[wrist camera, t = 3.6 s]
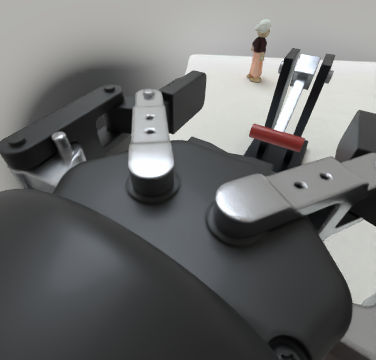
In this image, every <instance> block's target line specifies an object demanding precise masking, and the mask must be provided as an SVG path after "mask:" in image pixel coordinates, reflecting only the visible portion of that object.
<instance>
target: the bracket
mask: <svg viewBox="0 0 376 360" xmlns="http://www.w3.org/2000/svg"><path fill="white" fill-rule="evenodd" d="M299 53H300V49H295V48H293V49H292V50H291V51H290V52H289V53H288V55H287V56H286V57H285V58H284V61H282V62H281V64H280V67H279V70H278V73H279V74H280V75H279V79H278V82H277V86H276V89H275V93H274V96H273V99H272V103H271V106H270V110H269V113H268V117H267V120H266V123H265V127H268V128H271V129H274V128H275V125H276V123H277V120H278V117H279V114H280V111H281V108H282V105H283V101H284V98H285V95H286V92H287V89H288V86H289V83H290V80H291V77H292V74H293V71H294V68H295V65H296V62H297V59H298V56H299ZM334 57H335V55H331V54H326V56H325V58H324V60H323V63H322V65H321V67H320V70H319V72H318V75H317V77H316V80H315V82H314V85H313V87H312V90H311V92H310V95H309V97H308V100H307V102H306V105H305V107H304V110H303V112H302V115H301V117H300V120H299V122H298V124H297V127H296V129H295V132H294V134H293V135H295V136H299V137H301V136H302V133H303V131H304V129H305V126H306V124H307V122H308V119H309V117H310V115H311V113H312V110H313V108H314V106H315V103H316V101H317V99H318V96H319V94H320V92H321V89H322V87H323V85H324V83H329V82H330V79H331V77H332V75H333V72H334V71H331V70H330V69H331V66H332V63H333V60H334ZM307 144H308V141H307V140H305V141H304V143H303V146H302V148H301V150H300V152H296V151H293V150H290V149H287V148H283V147H280V146H277V145H274V144H270V143H267V142H264V141H261V140H258V139H254V140H253V141H252V143H251V145H250V146H249V148H248V149H247V151H246V153H245V154H244V156H248V157H253V158H256V159H259V160H262V161H264V162H267V163H270V164H273V165H274V166H273V168H272V171H273V172H275V173H279V172H282V171H285V170H288V169H292V168H295V167H298V166H300V165H301V162H302V159H303V156H304V153H305V150H306V147H307Z"/></svg>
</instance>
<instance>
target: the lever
mask: <svg viewBox="0 0 376 360" xmlns="http://www.w3.org/2000/svg"><path fill="white" fill-rule="evenodd" d="M319 61H320V57H315V56H309V55H303V54H302V55H301V57H300V59H299V61H298V63H297V65H296V67H295V70H294V73H293V76H292V80H291V83H290V86H293V87H292V90H291V92H290V94H289V96H288V99H287V101H286V103H285V105H284V108H283V110H282V112H281V114H280V116H279V119H278V121H277V123H276V125H275V128H274V129H271V128H268V127H264V126H261V125H257V124H253V126H252V128H251V131H250V134H249V137H251V138H254V139H258V140H261V141H264V142H267V143H270V144H274V145H277V146H280V147H283V148H287V149H290V150H293V151H296V152H300V150H301V148H302V146H303V143H304V141H305V138H302V137H299V136H295V135H292V134H288V133H285V129H286V127H287V125H288V122H289V120H290V118H291V115H292V113H293V111H294V108H295V106H296V104H297V101H298V99H299V97H300V94H301V92H302V90H303V89H306V90H308V88H309V86H310V84H311V81H312V79H313V76H314V74H315V72H316V69H317V66H318V64H319Z"/></svg>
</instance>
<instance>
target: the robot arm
mask: <svg viewBox="0 0 376 360" xmlns="http://www.w3.org/2000/svg"><path fill="white" fill-rule="evenodd" d="M205 89H206V74H205V73H202V72H198V71H191V72H190V73H188V74H187V75H185V76H184V77H181V78H178V79H175V80H174V81H172V82H171V83H169V84H168V85H166V86H164V87H163V88H161V89H160V90H156V89H143V90H140V91H138V92H137V93H136V97H132V96H124V93H123V88H122V87H121V86H118V85H105V86H101V87H99V88H97V89H95V90H94V91H92V92H90V93H88V94H86V95H84V96H83V97H81V98H79V99H77V100H75V101H73V102H71V103H69V104H68V105H66V106H64V107H62V108H60V109H58V110H57V111H55V112H53V113H51V114H49V115H47V116H45V117H43V118H42V119H40V120H38V121H36V122H34V123H32V124H30V125H29V126H27V127H25V128H23V129H21V130H19V131H17V132H16V133H14V134H12V135H10V136H8V137H6V138H4V139H3V140H2V141H0V154H1V156H2V157H3V159H4V160H5V162H6V163H7V165H8V168H9V170H10V171H11V173H12V174H13V175H14V177H15V178H16V180H17V181H18V183H19V184H20V186H21V187H22V188H24V189H13V190H5V191H1V192H0V360H324V359H325V357H326V356H327V354H328V353H330V354H332V355H333V356H335V357H336V358H338V359H340V360H376V293H375V294H374V295H372V296H370V297H369V298H367V299H366V300H364V301H363V303H362V305H357V304H354V303H352V298H351V293H350V290H349V287H348V285H347V283H346V281H345V279H344V277H343V275H342V273H341V272H340V270H339V268H338V267H337V265H336V263H335V262H334V260H333V258H332V256H331V255H330V253H329V251H328V250H327V248H326V246H325V245H324V243H323V241H324V240H325V239H326V238H327V237H329V236H330V235H332V234H334V233H337V232H339V231H341V230H343V229H345V228H348V227H350V226H352V225H354V224H356V223H359V222H361V221H362V220H366V221H368V222H369V223H371V224H373V225H374V226H376V114H374V113H370V112H366V111H362V110H359V111H358V112H357V113H356V115H355V116H354V118H353V120H352V121H351V123H350V125H349V126H348V128H347V130H346V132H345V133H344V135H343V137H342V138H341V140H340V142H339V144H338V147H337V150H336V156H335V158H333V157H327V158H323V159H320V160H317V161H314V162H311V163H308V164H304V165H301V166H298V167H295V168H292V169H288V170H285V171H282V172H279V173H275V172H273V171H272V168H273V166H274V165H273V164H270V163H267V162H264V161H262V160H259V159H256V158H253V157H248V156H242V155H237V154H231V153H227V152H225V151H224V150H222V149H220V148H218V147H217V146H215V145H213V144H211V143H209V142H206V141H203V140H200V139H197V138H194V137H191V138H190V139H189V140H188V141H183V140H173V141H170V138H169V133H171V134H174V133H175V132H177V131H178V130H179V129H180V128H181V127H182V126H183V125H184V124H185V123H186V122H188V121H189V120H190V119H191V118H192V117H193V116H194V115H195V114H196V113H197V112H199V111H200V110H201V109H202V107H203V104H204V100H205ZM101 115H103V117H104V120H105V126H104V127H102V128H101V129H100V130H98V131H97V129H96V120H97V119H98V117H100V116H101ZM130 134H132V135H131V144H130V145H129V150H128V151H124V152H120V153H116V154H112V155H107V154H108V153H109V152H110V151H111V150H112V149H114V148H115V147H116V146H117V145H118V144H120V143H121V142H122V141H123V140H124V139H125V138H127V137H128V136H129V135H130ZM105 155H107V156H105Z"/></svg>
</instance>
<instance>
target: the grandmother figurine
mask: <svg viewBox="0 0 376 360" xmlns="http://www.w3.org/2000/svg"><path fill="white" fill-rule="evenodd" d="M270 27H271V21H269V20H267V19H265V20H262V21H261V22H260V23H259V24H258V25H257V27H256V28H255V30H256V31H258V36H259V37H258V38H256V39H255V41H254V42H253V45H252V49H251V51H254V55H253V60H252V65H251V69H250V73H249V74H248V75H247V77H248V78H250V81H253V82H261V78H260V77H258V76H261V73H262V63H263V60H264V55H265V51H266V44H267V42H266V39H265V37H267V36H268V35H269V32H270Z"/></svg>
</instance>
